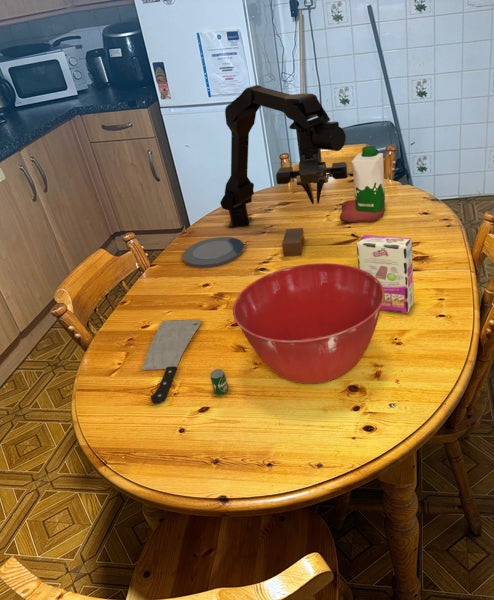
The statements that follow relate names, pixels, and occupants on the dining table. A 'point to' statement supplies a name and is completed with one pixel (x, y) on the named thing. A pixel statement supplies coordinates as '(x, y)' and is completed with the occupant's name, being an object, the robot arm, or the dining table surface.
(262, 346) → the mixing bowl
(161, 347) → the cleaver
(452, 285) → the dining table surface
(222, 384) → the beer can
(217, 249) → the plate
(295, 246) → the block
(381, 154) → the milk carton
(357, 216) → the food model
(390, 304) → the candy bar box
